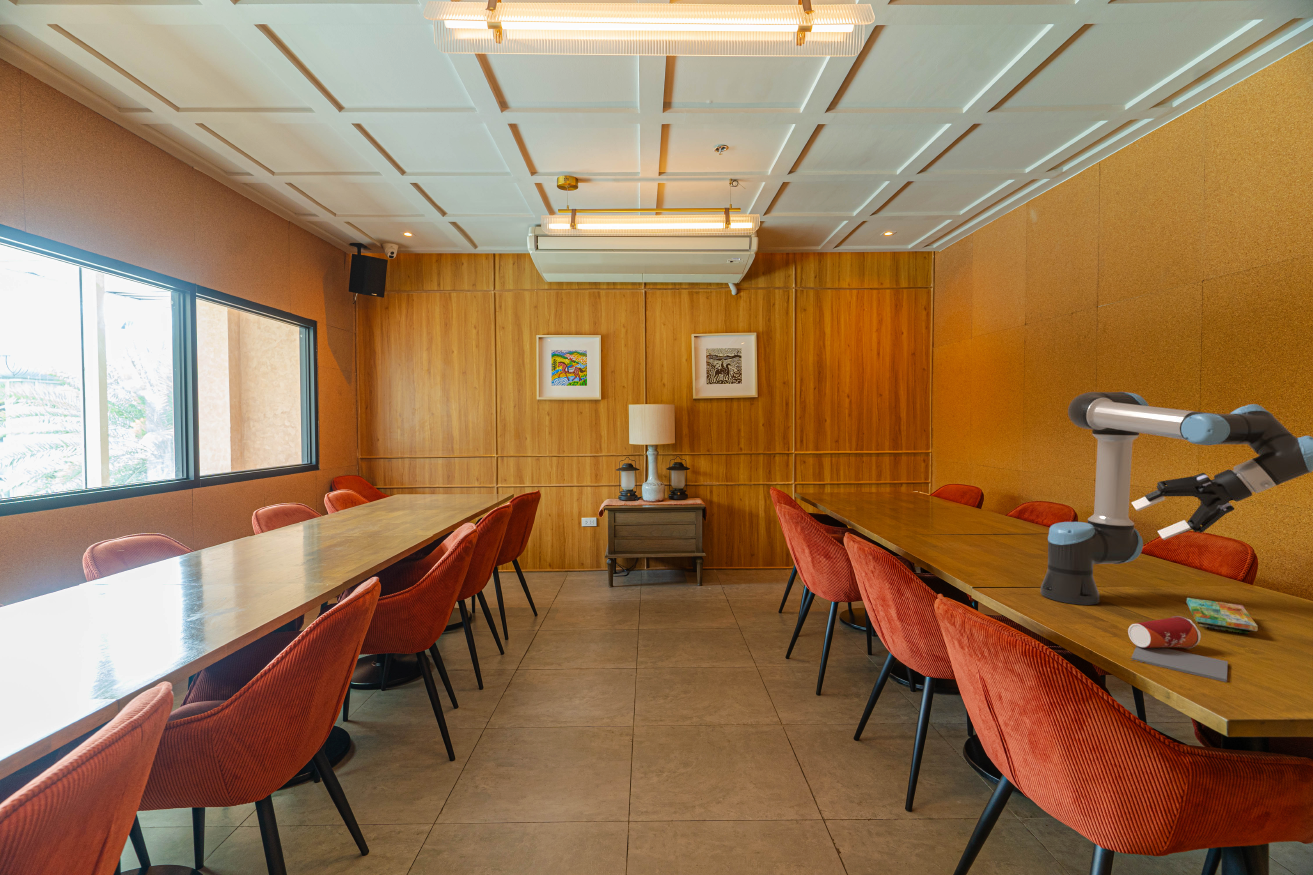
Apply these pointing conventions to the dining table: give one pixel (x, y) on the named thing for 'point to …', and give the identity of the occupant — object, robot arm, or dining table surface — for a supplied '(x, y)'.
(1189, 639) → the paper cup
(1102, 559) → the robot arm
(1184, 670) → the mat
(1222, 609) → the puzzle game
